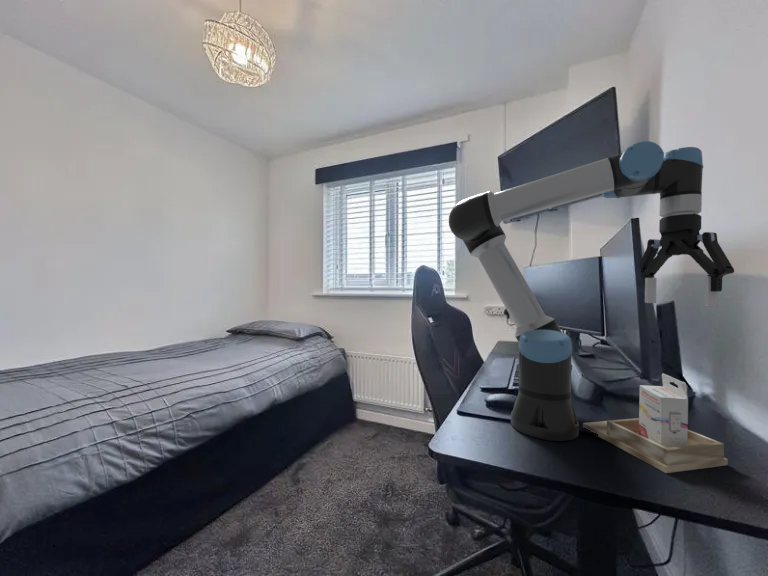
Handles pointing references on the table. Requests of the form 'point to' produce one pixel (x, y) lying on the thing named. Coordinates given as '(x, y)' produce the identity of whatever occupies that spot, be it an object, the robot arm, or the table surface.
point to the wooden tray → (661, 447)
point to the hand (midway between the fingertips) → (678, 304)
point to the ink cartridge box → (664, 413)
